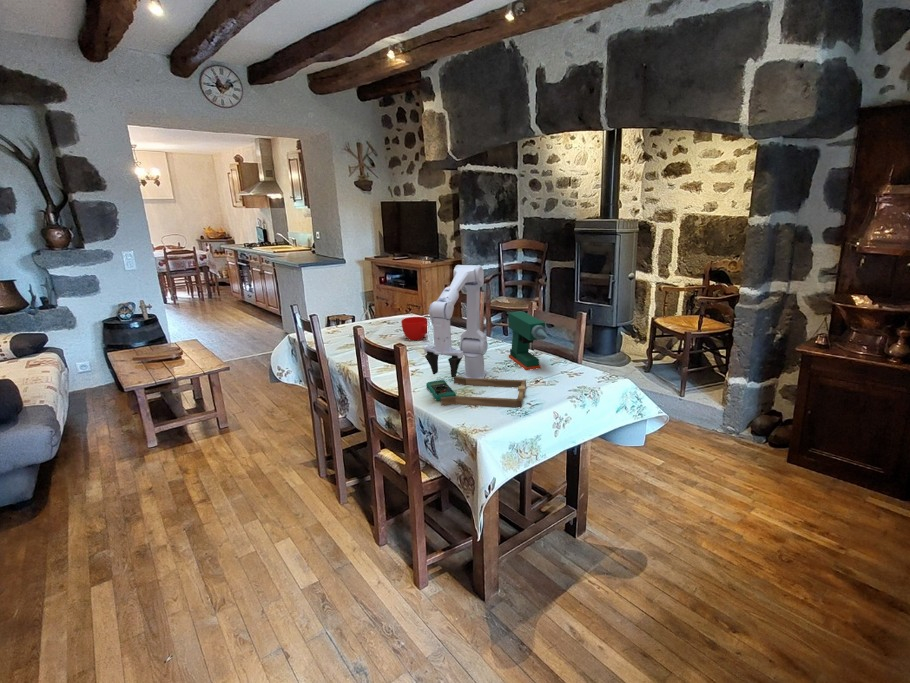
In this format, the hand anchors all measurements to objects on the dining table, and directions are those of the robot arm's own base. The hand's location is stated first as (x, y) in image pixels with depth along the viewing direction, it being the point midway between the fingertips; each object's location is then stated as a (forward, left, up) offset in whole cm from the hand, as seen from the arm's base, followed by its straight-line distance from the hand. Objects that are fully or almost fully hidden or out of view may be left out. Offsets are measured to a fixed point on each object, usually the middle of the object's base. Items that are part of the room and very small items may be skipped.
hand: (444, 374), depth 169 cm
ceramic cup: (-73, -33, -10) cm, 81 cm away
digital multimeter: (-7, -4, -10) cm, 13 cm away
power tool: (-38, +26, -10) cm, 47 cm away
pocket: (-7, +13, -10) cm, 18 cm away
